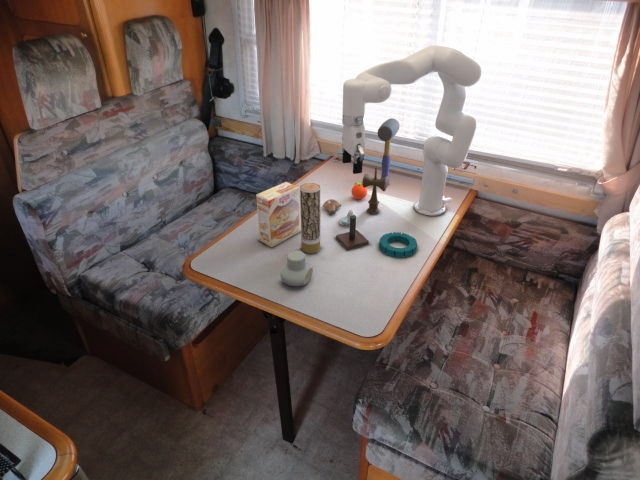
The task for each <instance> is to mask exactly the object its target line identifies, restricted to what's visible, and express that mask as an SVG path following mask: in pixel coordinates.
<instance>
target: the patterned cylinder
mask: <svg viewBox="0 0 640 480" xmlns="http://www.w3.org/2000/svg"><path fill="white" fill-rule="evenodd" d="M299 206H300V239H301V240H300V241H301V250H302V252H303V253H305V254H316V253H318V252H319V251H320V250H321V185H320V184H318V183H316V182H304V183H302V184H300V186H299Z"/></svg>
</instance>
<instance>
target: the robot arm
mask: <svg viewBox="0 0 640 480" xmlns="http://www.w3.org/2000/svg"><path fill="white" fill-rule="evenodd" d="M433 73H437V75H438V77H439V79H440V81H441V83H442V86H443V95H442V99H441V102H440V105H439V109H438V111H437V115H436V118H435V123H434V124H435V125H434V126H435V128H436V130H438V131H439V132H441V133H442V134H445V135H447V136H450V137H452V139H451V138H449V137H446V136H444V135H440V134H432V135H430V136H428V137H427V138H426V139H425V141H424V144H423V149H422V153H423V168H422V169H423V170H422V175H421V184H420V191H419V199H418V201H416V202H415V203H414V210H415V211H416V212H418V213H419V214H422V215H424V216H428V217H429V216H430V217H436V216H441V215H443V214H444V213H445V211H446V206H445V204H447V203H451V202H452V197H446V198H445V195H444V194H445V189H446V183H447V177H448V168H452V169H457V168H460V166H461V167H462V165H463V163H464V162H465V160H466V159H467V157H468V154H469V151H470V148H471V145H472V143H473V140H474V138H475V137H474V136H475V134H476V130H477V120H476V118H475V116H474V115H472V114H471V113H469V112H466V111H464V110H465V105H466V102H467V97H468V90H467V88H471V87H473V86H475V85H476V84H477V83H478V82H479V81H480V79H481V77H482V67H481V65H480V63H479V61H476V60H475V59H473V58H472V57H470V56H469V55H467V54H466V53H464V52H463V51H462V50H460V49H458V48H456V47H453V46H449V45H444V44H439V43H438V44H437V43H433V44H431V45H428V46H425V47H424V48H422V49H420V50H418V51H416V52H414V53H412V54H409V55H408V56H406V57H404V58H400V59H396V60H391V61H389V62H384V63H380V64H376V65H373V66H372V67H370V68H368V69H366V70H364V71H362V72H360V73H359V74H357V76H356V77H355V78H349V79H347V80H345V81H343V86H342V119H341V120H342V121H341V124H342V125H343V126H342V137H341V141H342V142H341V146H342V149H341V151H342V155H341V156H342V157H341V160H342V161H341V162H342V164H349V163H352V157H353V163H352V174H353V175H357V174H362V173H363V164H364V160H365V155H366V128H365V126H366V112H367V104H380V103H383V102H386V101H387V100H389V98H390V97H391V95H392V90H393V89H392V85H411V84H414V83H416V82H418V81H420V80H421V79H422V80H423V79H424V78H425V77H427V76H430V75H432V74H433Z"/></svg>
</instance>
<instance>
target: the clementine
mask: <svg viewBox="0 0 640 480" xmlns="http://www.w3.org/2000/svg"><path fill="white" fill-rule="evenodd" d="M350 192H351V196H352V197H353V198H354V199H356V200H363V199H365V197H367V194H368V187H365V188H364V187H363V185H362V183H360V182H355V183H354V185H352V188H351V191H350Z"/></svg>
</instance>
